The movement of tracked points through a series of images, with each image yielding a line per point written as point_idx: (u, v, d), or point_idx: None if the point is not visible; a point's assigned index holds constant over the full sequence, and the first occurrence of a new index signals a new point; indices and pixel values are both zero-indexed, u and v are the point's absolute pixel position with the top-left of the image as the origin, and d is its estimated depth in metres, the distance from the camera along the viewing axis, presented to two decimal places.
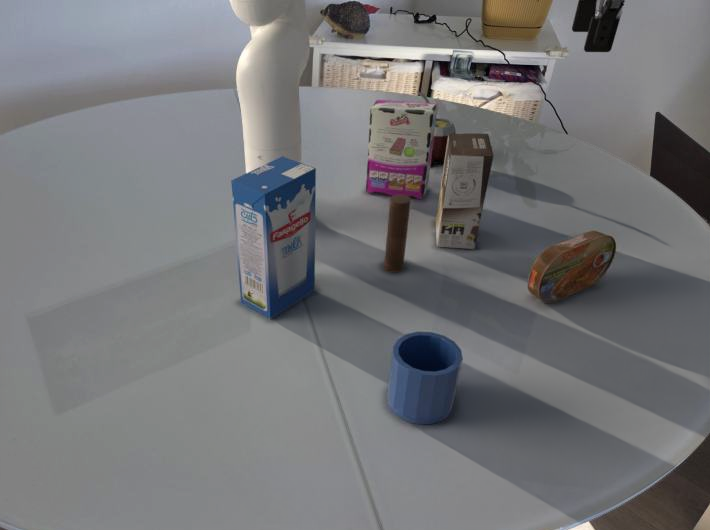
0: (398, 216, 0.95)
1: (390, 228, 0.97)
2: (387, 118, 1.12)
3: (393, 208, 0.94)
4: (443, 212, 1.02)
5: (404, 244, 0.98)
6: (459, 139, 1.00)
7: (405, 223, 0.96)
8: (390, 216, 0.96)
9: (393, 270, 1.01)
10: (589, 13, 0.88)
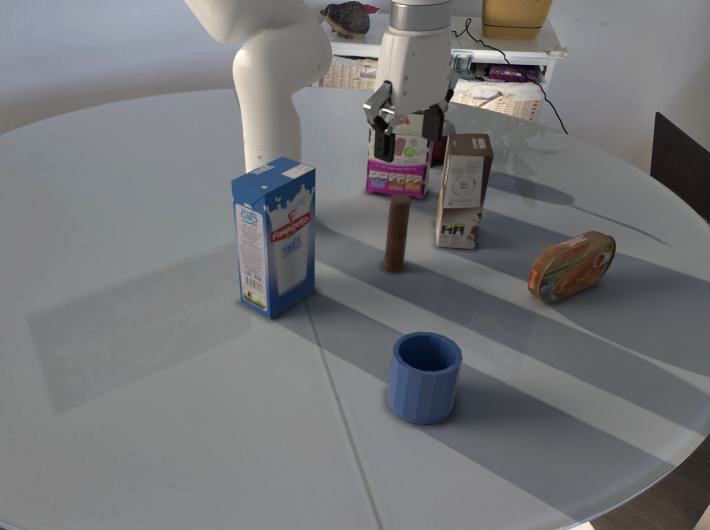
0: (398, 216, 0.95)
1: (390, 228, 0.97)
2: (387, 118, 1.12)
3: (393, 208, 0.94)
4: (443, 212, 1.02)
5: (404, 244, 0.98)
6: (459, 139, 1.00)
7: (405, 223, 0.96)
8: (390, 216, 0.96)
9: (393, 270, 1.01)
10: (431, 124, 0.90)
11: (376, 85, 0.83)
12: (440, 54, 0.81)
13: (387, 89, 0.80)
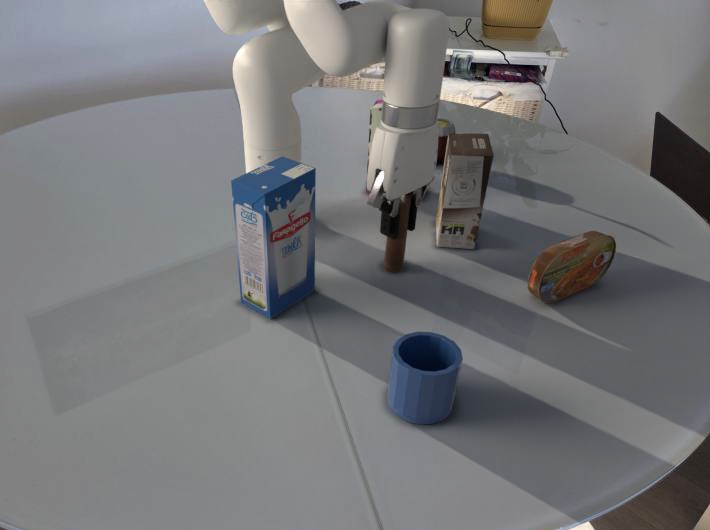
0: None
1: None
2: None
3: None
4: (443, 212, 1.02)
5: (404, 244, 0.98)
6: (459, 139, 1.00)
7: (405, 223, 0.96)
8: None
9: (393, 270, 1.01)
10: None
11: (368, 171, 0.90)
12: (427, 145, 0.88)
13: (382, 183, 0.89)
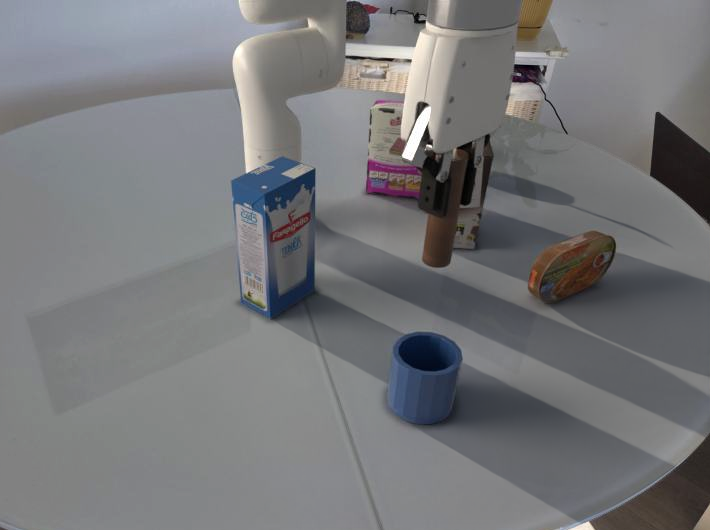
0: None
1: None
2: (387, 118, 1.12)
3: None
4: None
5: (455, 225, 0.65)
6: None
7: (458, 193, 0.63)
8: None
9: (437, 265, 0.68)
10: None
11: (405, 107, 0.57)
12: (500, 64, 0.55)
13: (427, 126, 0.56)
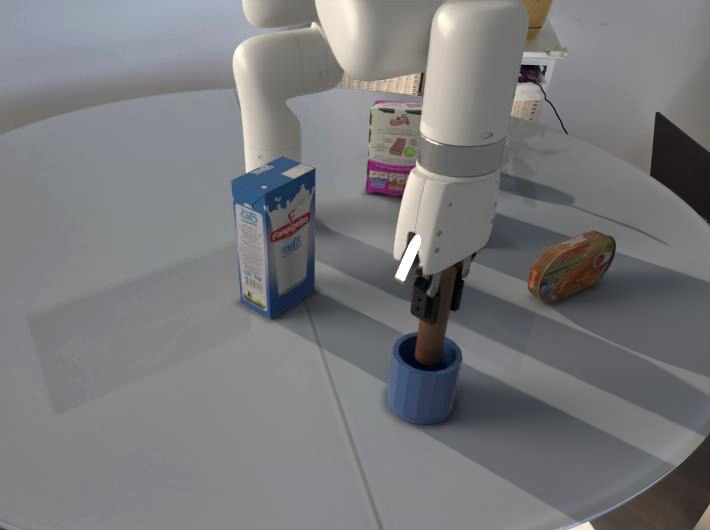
0: None
1: None
2: (387, 118, 1.12)
3: None
4: None
5: (445, 329, 0.70)
6: None
7: (447, 303, 0.67)
8: None
9: (428, 362, 0.72)
10: None
11: (397, 233, 0.62)
12: (484, 198, 0.60)
13: (417, 252, 0.61)
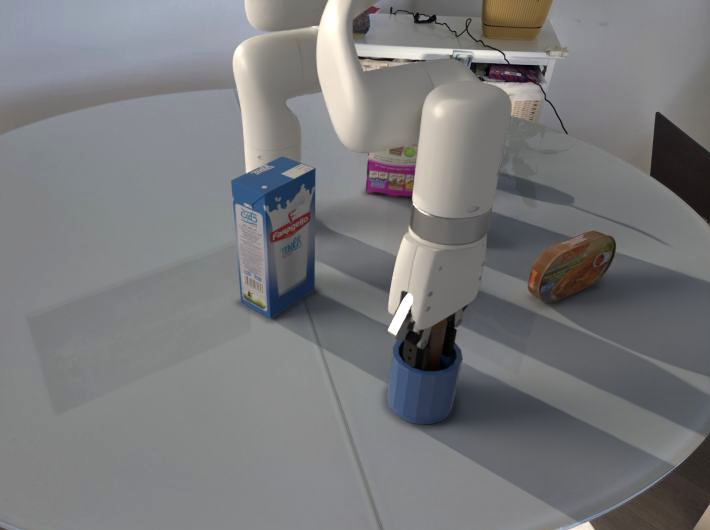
0: (430, 343, 0.71)
1: None
2: None
3: None
4: None
5: None
6: None
7: (439, 351, 0.72)
8: None
9: None
10: None
11: (391, 291, 0.67)
12: (472, 260, 0.65)
13: (409, 309, 0.65)
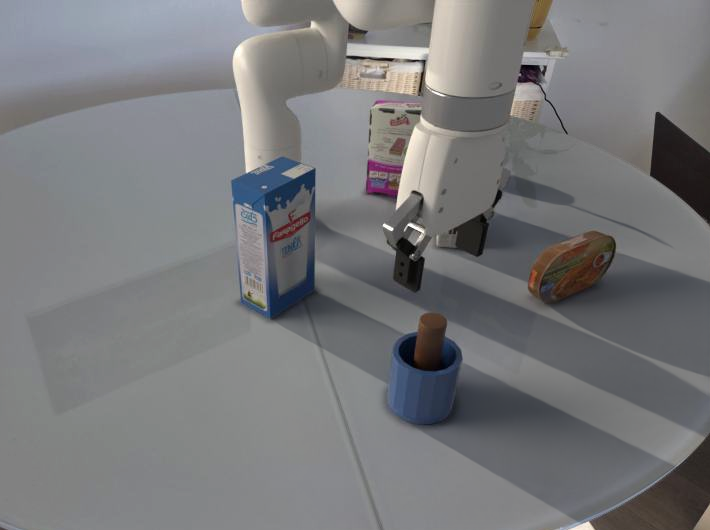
0: (430, 343, 0.71)
1: (419, 355, 0.73)
2: (387, 118, 1.12)
3: (423, 333, 0.70)
4: None
5: None
6: None
7: (439, 351, 0.72)
8: (419, 341, 0.72)
9: None
10: (470, 233, 0.67)
11: (399, 193, 0.60)
12: (491, 156, 0.58)
13: (416, 204, 0.58)
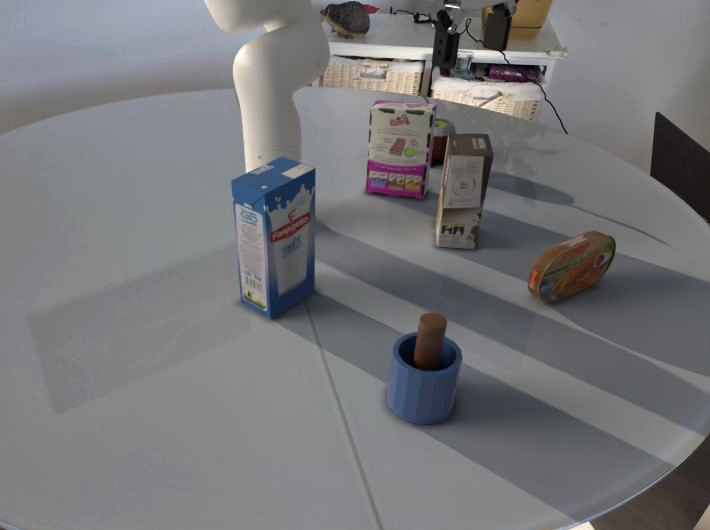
0: (430, 343, 0.71)
1: (419, 355, 0.73)
2: (387, 118, 1.12)
3: (423, 333, 0.70)
4: (443, 212, 1.02)
5: None
6: (459, 139, 1.00)
7: (439, 351, 0.72)
8: (419, 341, 0.72)
9: None
10: (495, 29, 0.79)
11: None
12: None
13: None
